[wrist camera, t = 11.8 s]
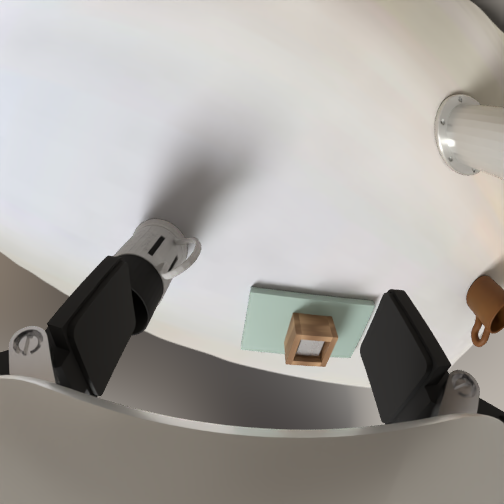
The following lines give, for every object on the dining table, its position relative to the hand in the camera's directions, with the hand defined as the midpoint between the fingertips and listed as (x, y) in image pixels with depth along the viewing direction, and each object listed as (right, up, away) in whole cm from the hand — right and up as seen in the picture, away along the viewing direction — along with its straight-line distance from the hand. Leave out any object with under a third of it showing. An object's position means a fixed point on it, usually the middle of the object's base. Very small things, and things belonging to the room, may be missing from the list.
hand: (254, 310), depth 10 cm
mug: (+45, -7, +33) cm, 56 cm away
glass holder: (-11, +4, +30) cm, 32 cm away
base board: (+9, -10, +35) cm, 38 cm away
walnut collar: (+9, -10, +34) cm, 37 cm away
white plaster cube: (+9, -10, +34) cm, 37 cm away
